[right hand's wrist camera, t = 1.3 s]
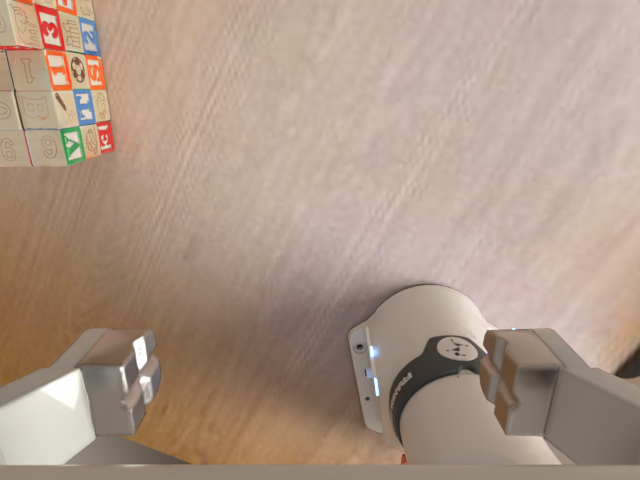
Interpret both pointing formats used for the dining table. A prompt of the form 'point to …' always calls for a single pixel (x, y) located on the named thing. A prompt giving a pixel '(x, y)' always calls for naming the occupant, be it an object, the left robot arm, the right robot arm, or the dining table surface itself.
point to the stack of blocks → (51, 84)
